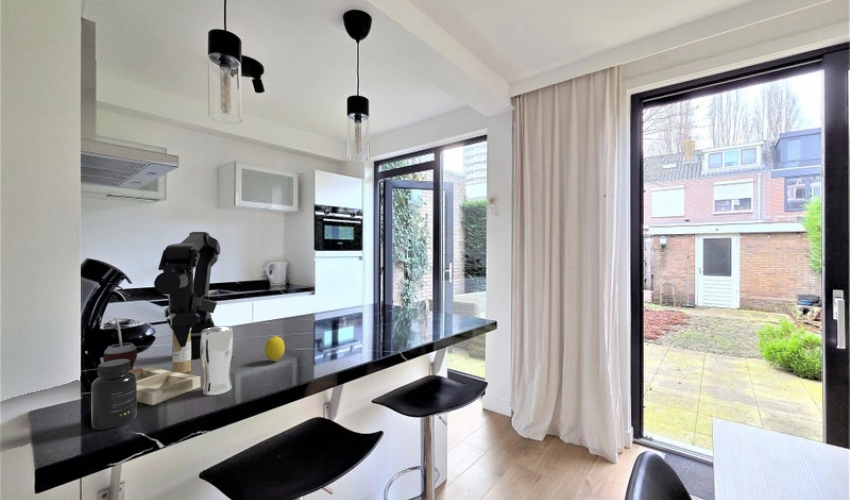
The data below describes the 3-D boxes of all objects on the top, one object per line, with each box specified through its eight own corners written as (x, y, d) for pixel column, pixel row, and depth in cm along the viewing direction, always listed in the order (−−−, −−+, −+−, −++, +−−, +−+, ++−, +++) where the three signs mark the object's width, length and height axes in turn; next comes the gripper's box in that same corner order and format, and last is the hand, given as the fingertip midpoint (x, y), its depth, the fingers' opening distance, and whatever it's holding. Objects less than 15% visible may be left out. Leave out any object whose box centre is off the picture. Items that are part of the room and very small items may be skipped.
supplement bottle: (83, 427, 68) (82, 365, 67) (124, 411, 74) (123, 355, 74) (104, 433, 65) (103, 370, 65) (144, 417, 71) (144, 359, 71)
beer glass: (209, 398, 80) (209, 334, 80) (194, 392, 84) (194, 330, 84) (239, 388, 86) (239, 328, 86) (224, 382, 90) (223, 324, 89)
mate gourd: (124, 378, 93) (123, 322, 93) (92, 379, 92) (92, 323, 92) (144, 368, 100) (144, 316, 100) (115, 369, 100) (115, 317, 100)
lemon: (288, 359, 109) (287, 333, 109) (278, 365, 103) (278, 338, 103) (271, 358, 109) (271, 333, 109) (261, 364, 104) (261, 337, 104)
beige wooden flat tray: (96, 391, 84) (96, 380, 84) (146, 375, 95) (146, 365, 95) (152, 405, 77) (152, 392, 77) (200, 386, 87) (200, 375, 87)
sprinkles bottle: (168, 373, 96) (167, 325, 96) (185, 368, 101) (184, 321, 101) (178, 375, 95) (178, 326, 95) (195, 370, 99) (195, 323, 99)
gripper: (221, 290, 96) (221, 346, 96) (207, 285, 110) (208, 334, 110) (171, 294, 88) (172, 355, 89) (164, 287, 102) (164, 340, 102)
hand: (181, 345), depth 98 cm, fingers closed on sprinkles bottle, 4 cm apart
